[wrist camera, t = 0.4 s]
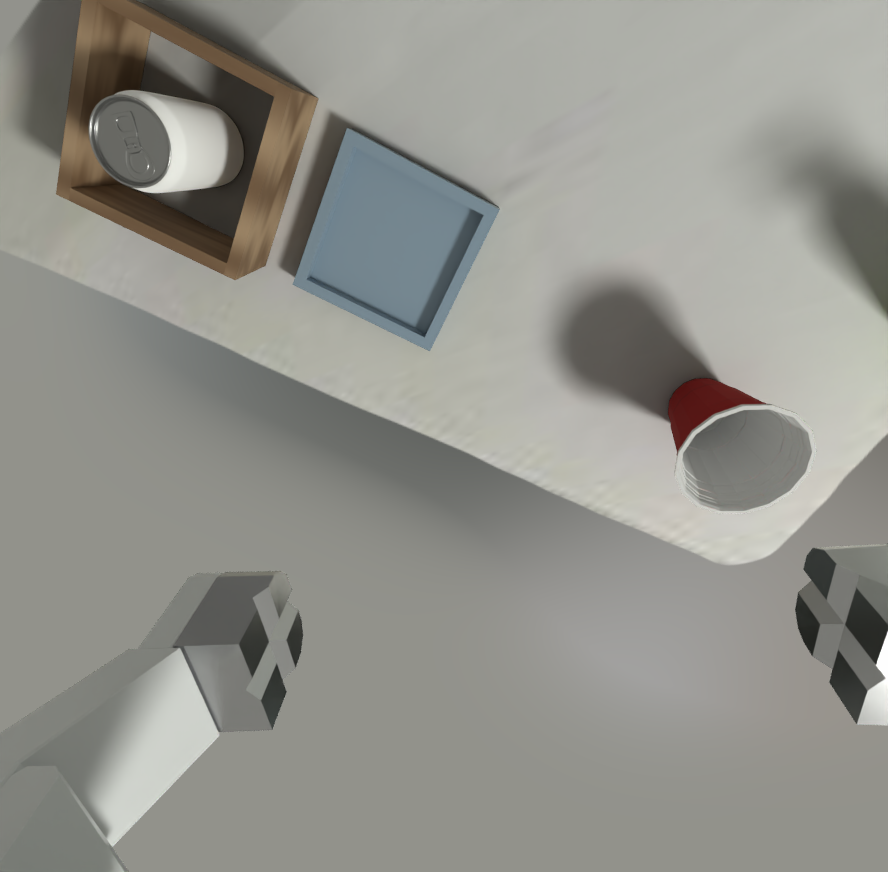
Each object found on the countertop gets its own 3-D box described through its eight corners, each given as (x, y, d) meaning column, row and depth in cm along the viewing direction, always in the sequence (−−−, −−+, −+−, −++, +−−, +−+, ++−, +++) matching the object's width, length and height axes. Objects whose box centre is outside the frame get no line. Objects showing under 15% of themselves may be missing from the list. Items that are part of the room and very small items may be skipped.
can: (188, 192, 50) (106, 201, 39) (161, 110, 47) (64, 96, 36) (255, 180, 49) (190, 186, 38) (232, 96, 46) (155, 77, 35)
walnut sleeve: (142, 3, 44) (84, -23, 37) (318, 98, 46) (291, 89, 40) (109, 189, 50) (56, 194, 44) (265, 265, 52) (235, 280, 46)
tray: (352, 129, 47) (347, 127, 45) (499, 207, 49) (499, 209, 47) (299, 280, 53) (292, 284, 51) (431, 344, 55) (429, 351, 53)
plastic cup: (628, 445, 58) (659, 510, 47) (659, 347, 53) (702, 394, 42) (730, 460, 58) (785, 529, 47) (771, 363, 53) (842, 415, 42)
